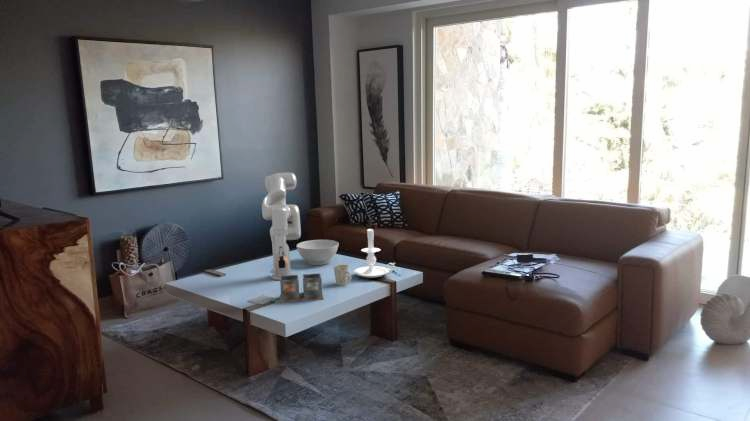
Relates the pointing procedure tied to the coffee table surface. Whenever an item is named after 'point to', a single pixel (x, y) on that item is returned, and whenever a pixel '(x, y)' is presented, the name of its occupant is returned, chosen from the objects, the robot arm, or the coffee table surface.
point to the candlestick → (372, 261)
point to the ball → (284, 259)
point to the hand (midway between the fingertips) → (282, 265)
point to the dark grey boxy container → (310, 288)
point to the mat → (262, 299)
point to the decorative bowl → (317, 251)
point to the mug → (342, 274)
